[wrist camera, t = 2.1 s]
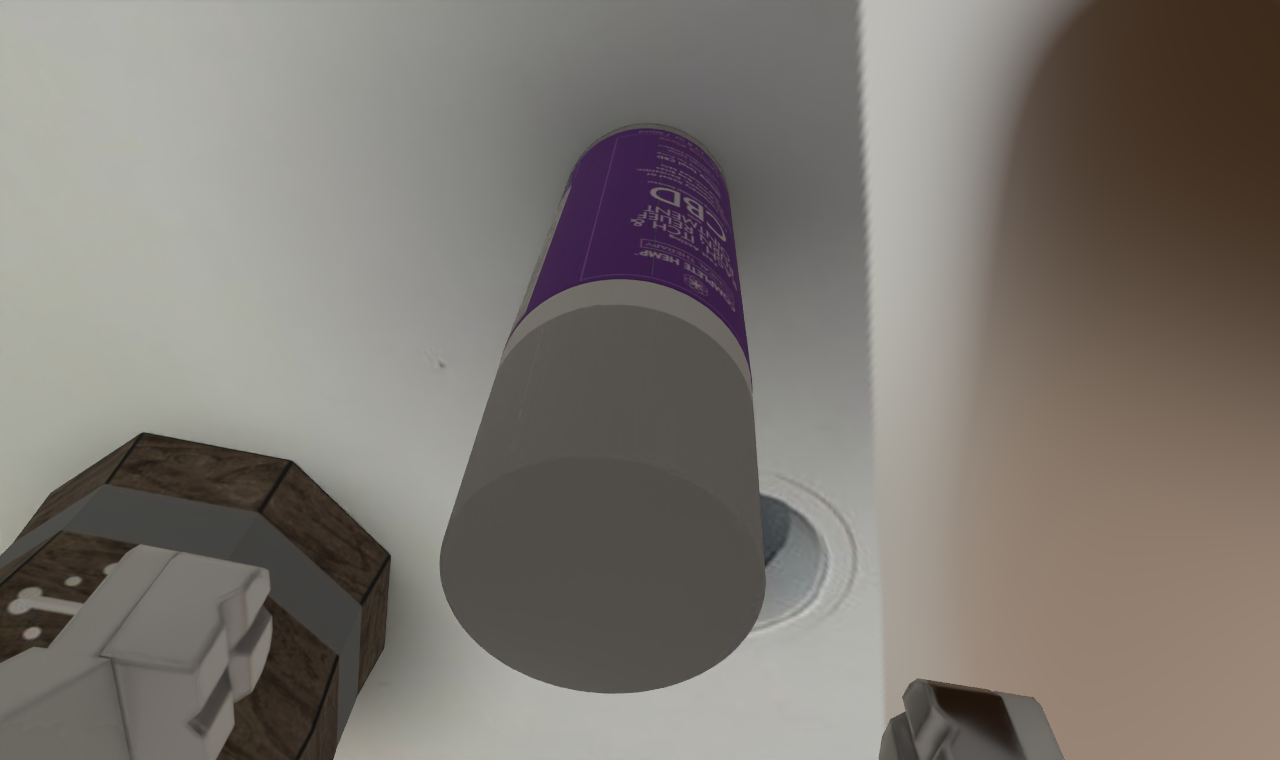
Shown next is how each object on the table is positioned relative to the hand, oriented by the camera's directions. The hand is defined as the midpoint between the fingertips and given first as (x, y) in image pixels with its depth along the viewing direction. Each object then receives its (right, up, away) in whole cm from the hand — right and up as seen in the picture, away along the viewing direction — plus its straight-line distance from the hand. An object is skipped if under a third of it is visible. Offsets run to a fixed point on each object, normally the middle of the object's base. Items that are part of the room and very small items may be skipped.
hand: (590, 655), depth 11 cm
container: (+1, +9, +14) cm, 16 cm away
